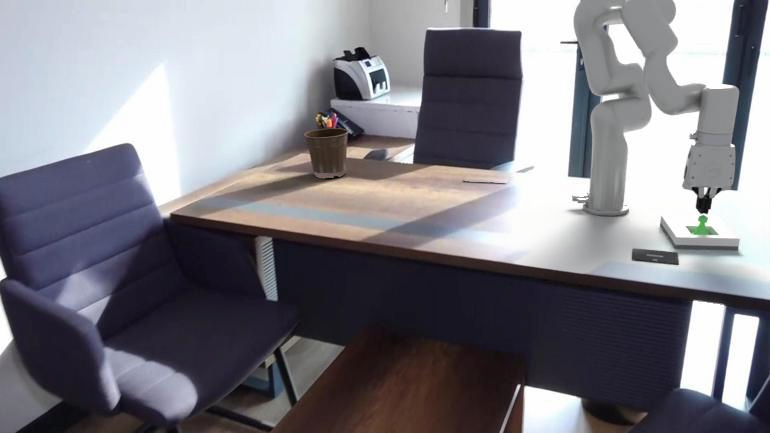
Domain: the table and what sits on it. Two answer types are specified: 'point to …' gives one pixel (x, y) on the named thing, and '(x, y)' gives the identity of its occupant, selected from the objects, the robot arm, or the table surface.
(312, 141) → the plant pot
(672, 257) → the solid state drive
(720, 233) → the white square slotted base
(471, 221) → the table surface
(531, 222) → the table surface
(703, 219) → the game piece
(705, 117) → the robot arm
